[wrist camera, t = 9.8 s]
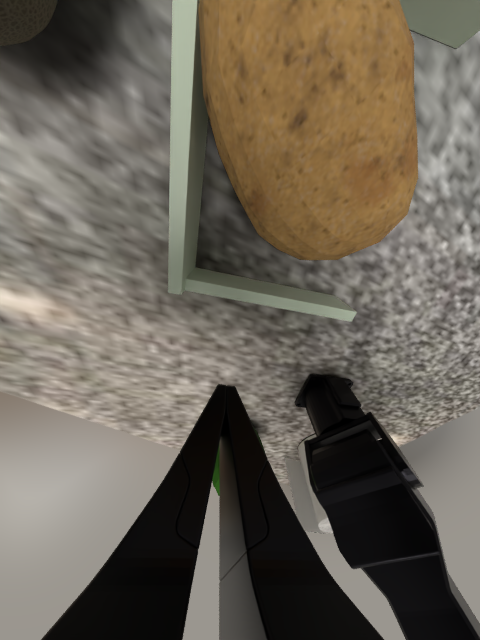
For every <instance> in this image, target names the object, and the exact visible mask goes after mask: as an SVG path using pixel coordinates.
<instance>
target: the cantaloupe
mask: <svg viewBox="0 0 480 640" xmlns="http://www.w3.org/2000/svg"><path fill="white" fill-rule="evenodd" d="M57 1H58V0H0V46H4V45H12V44H19V43H23V42H26V41H29V40H31V39H32V38H33V37H35V36H36V35H37V34H39V33H40V32H41V31H42V30H43V29H45V28H46V26H47V25H48V23H49V22H50V20H51V18H52V16H53V13H54V10H55V8H56V5H57Z"/></svg>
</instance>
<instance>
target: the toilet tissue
mask: <svg viewBox="0 0 480 640" xmlns="http://www.w3.org/2000/svg"><path fill="white" fill-rule="evenodd" d="M314 437H316V434H315V435H312V436H310V437H308V438H306V439H305V440H310V439H312V438H314ZM305 440H304V441H305ZM304 441H302V442H301V444H300V445H299V447H298V454H299V457H300V461H299V460H294V459H289V458H286V457H285V462H286V467H287V473H288V476H289V481H290V486H291V491H292V497H293V500H294V505H295V510H296V515H297V518H298V520H299V522H300V523H301V525H302V527H303V529H304V531H308V532H314V533H317V532H318V533H323V534H324V533H333V531H332V528H331V525H330V522H329V520H328V517H327V515H326V512H325V510H324V509H323V508H322V506H321V505H320V503H319V501H318V500H317V498H316V495H315V494H314V493H313V491H312V487H311V485H310V480H309V474H308V467H307V461H306V454H305V445H304Z"/></svg>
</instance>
